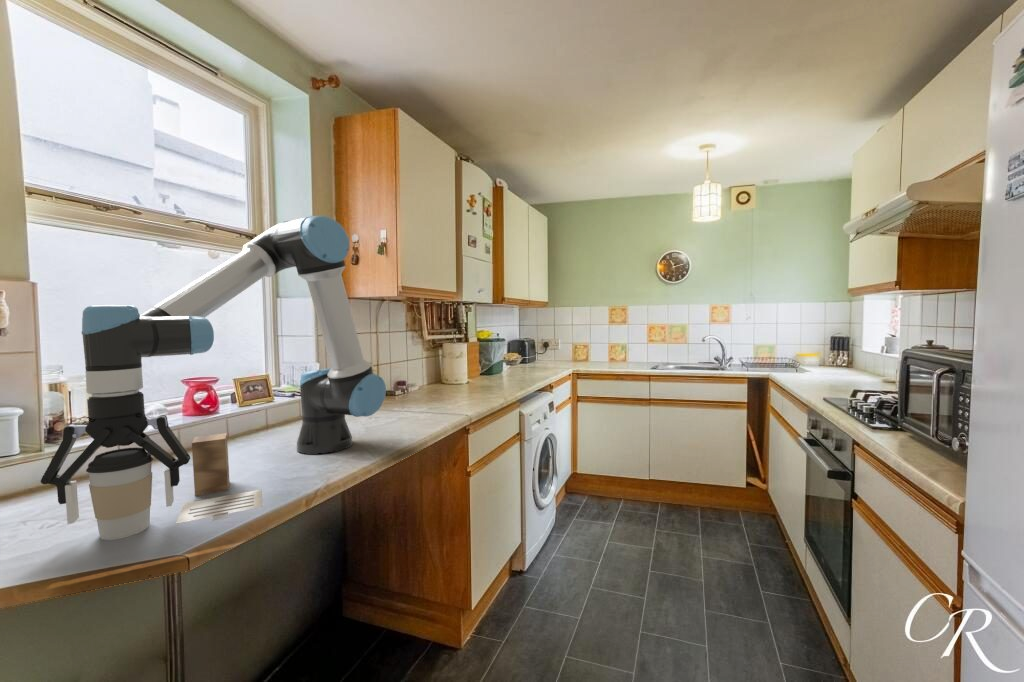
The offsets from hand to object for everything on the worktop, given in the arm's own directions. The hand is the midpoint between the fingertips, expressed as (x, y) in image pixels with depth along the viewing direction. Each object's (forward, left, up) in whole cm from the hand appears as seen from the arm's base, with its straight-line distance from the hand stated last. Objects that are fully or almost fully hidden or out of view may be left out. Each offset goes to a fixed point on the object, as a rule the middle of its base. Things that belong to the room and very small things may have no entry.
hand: (123, 512), depth 82 cm
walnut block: (-12, -16, -4) cm, 20 cm away
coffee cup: (0, 0, -4) cm, 4 cm away
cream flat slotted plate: (-15, -4, -4) cm, 16 cm away
